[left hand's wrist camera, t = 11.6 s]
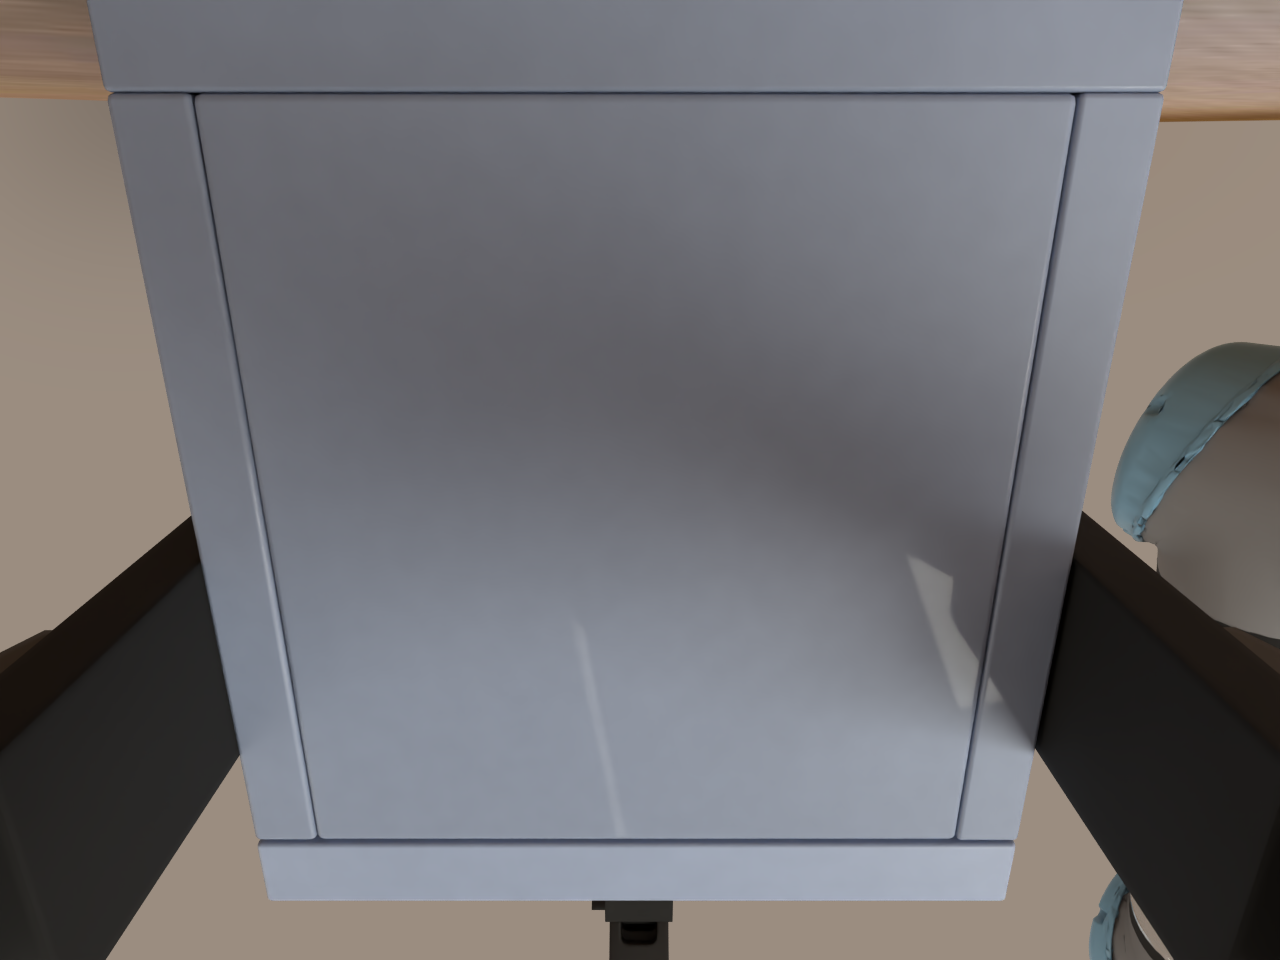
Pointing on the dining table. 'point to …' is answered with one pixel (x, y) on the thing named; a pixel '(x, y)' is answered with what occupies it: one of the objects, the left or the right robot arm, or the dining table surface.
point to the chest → (635, 394)
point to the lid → (637, 869)
